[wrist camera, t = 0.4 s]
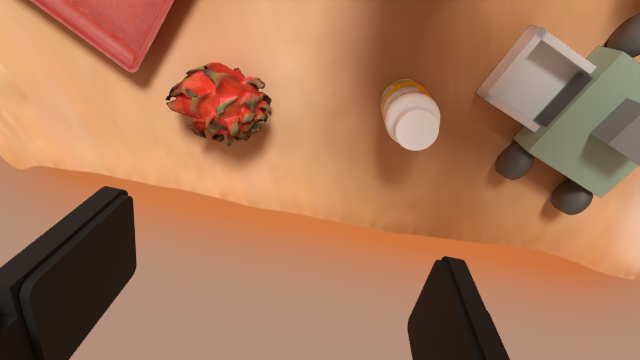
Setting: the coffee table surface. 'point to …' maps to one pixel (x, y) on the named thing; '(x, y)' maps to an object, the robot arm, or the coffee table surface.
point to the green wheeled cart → (571, 111)
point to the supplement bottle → (410, 114)
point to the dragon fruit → (221, 102)
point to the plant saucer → (112, 25)
